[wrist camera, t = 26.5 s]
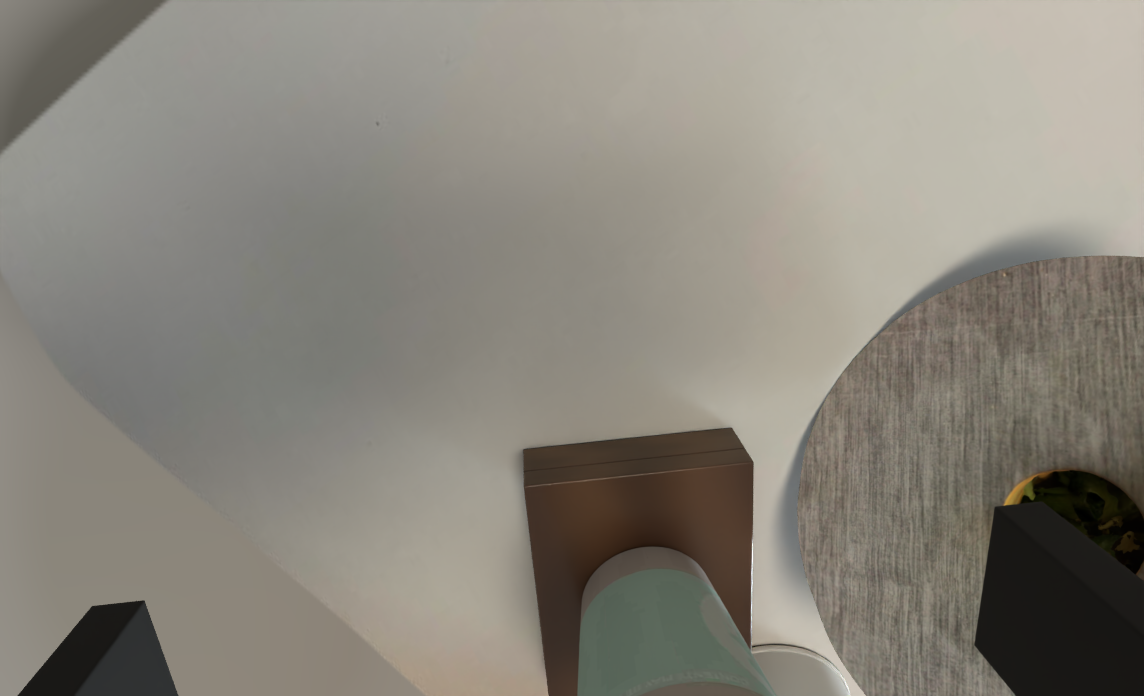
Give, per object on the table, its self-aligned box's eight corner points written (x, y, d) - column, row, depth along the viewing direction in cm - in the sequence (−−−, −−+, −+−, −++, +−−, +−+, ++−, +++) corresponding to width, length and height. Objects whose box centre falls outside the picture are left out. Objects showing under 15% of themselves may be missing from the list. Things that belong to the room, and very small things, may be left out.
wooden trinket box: (548, 668, 45) (551, 720, 42) (523, 449, 40) (523, 486, 36) (732, 647, 46) (751, 697, 42) (732, 427, 40) (753, 461, 37)
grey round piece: (781, 557, 52) (1161, 858, 38) (681, 571, 38) (1229, 1060, 24) (980, 266, 49) (1477, 479, 35) (952, 160, 35) (1778, 449, 20)
